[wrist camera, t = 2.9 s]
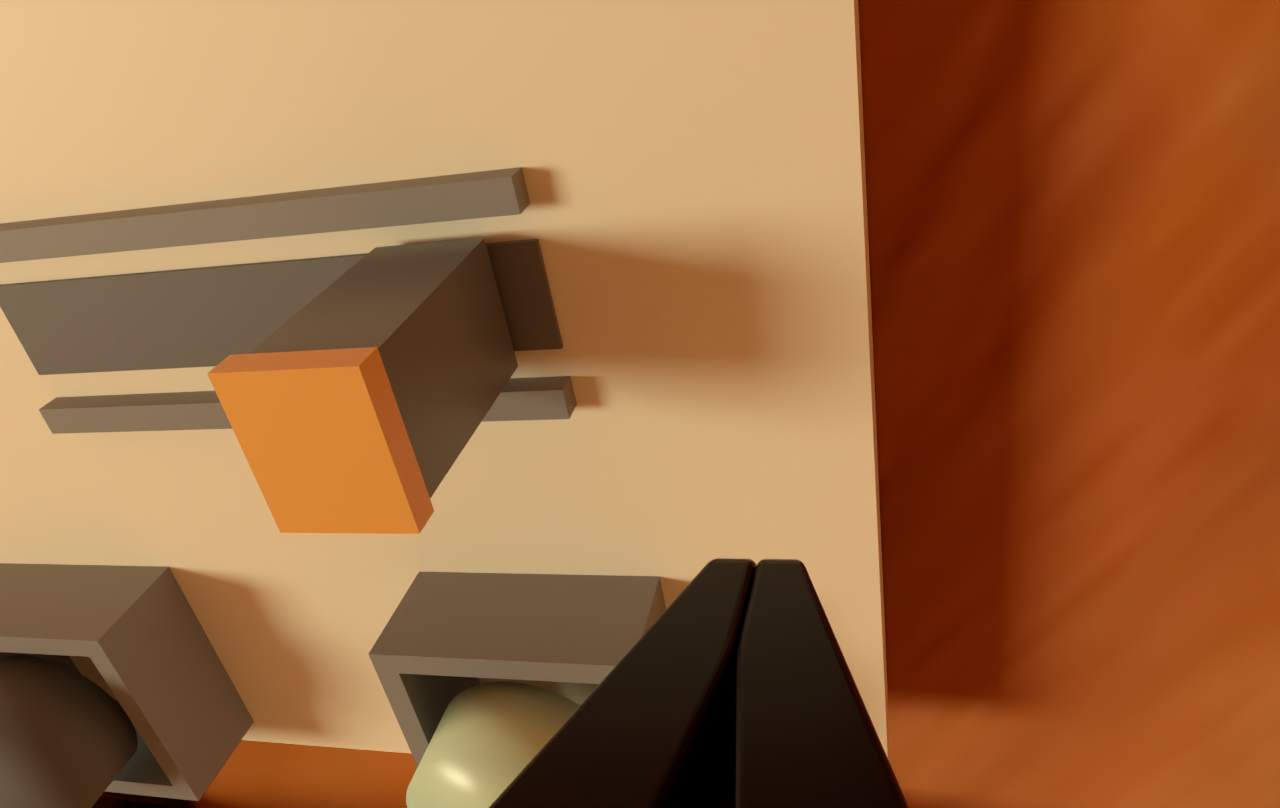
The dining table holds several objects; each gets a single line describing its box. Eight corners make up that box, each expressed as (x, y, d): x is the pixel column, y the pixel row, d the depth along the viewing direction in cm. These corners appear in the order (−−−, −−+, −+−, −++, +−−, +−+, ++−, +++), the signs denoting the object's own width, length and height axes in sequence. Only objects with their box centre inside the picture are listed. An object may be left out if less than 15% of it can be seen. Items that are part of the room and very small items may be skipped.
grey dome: (162, 770, 22) (112, 837, 21) (40, 759, 23) (-17, 822, 22) (91, 658, 20) (29, 724, 19) (-39, 651, 21) (-108, 713, 20)
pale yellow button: (635, 813, 19) (616, 897, 18) (469, 798, 20) (437, 876, 19) (602, 686, 17) (576, 768, 16) (420, 677, 18) (380, 752, 17)
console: (887, 687, 23) (894, 1056, 16) (62, 645, 30) (-182, 890, 23) (849, -219, 13) (823, -274, 6) (-346, 30, 20) (-970, 132, 13)
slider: (524, 371, 16) (419, 533, 12) (413, 376, 17) (280, 532, 13) (487, 231, 15) (358, 366, 11) (368, 241, 15) (207, 373, 12)
